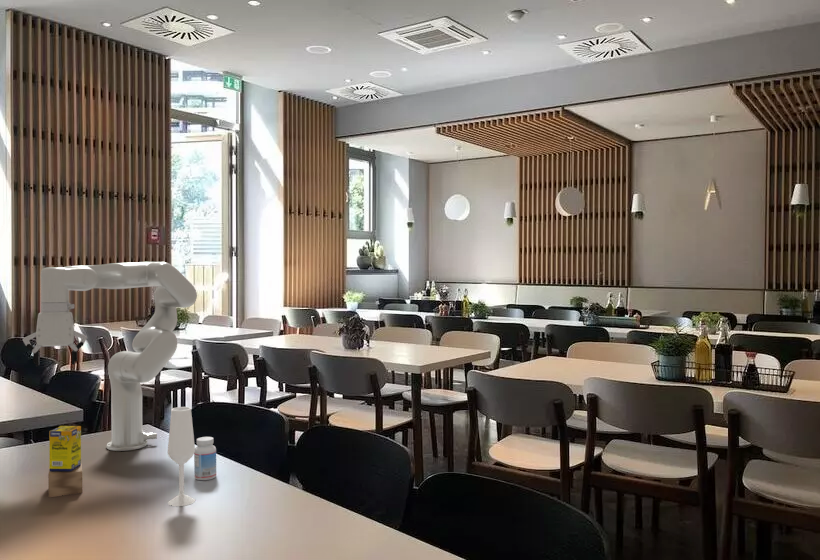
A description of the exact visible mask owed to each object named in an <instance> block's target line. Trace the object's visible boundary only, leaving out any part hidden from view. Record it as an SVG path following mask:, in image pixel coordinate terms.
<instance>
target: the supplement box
mask: <svg viewBox="0 0 820 560" xmlns="http://www.w3.org/2000/svg"><path fill="white" fill-rule="evenodd" d="M48 434H49V436H48V437H49V441H48V442H49V445H48V446H49V449H48V451H49V453H48V454H49V460H48V461H49V466H48V472H49V471H52V472H71V471H72V470H74V469H75V468H77V467H79V466H81V463H82V426H81V425H60V426H58V427H56V428H53V429H50V430H49V433H48Z"/></svg>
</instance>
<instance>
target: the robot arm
mask: <svg viewBox="0 0 820 560" xmlns="http://www.w3.org/2000/svg"><path fill="white" fill-rule="evenodd" d="M40 271H41V272H40V312H39V313H38V314H37V321H36V331H35V332H33V333H31V334H29V335H27V336H25V337H22V341H23V344H24V346H25V347H26V348H27V349H28V350H29V351H31V353H32V354H33V359H32V360H33V362H32V363H33V364H35V367H39V366H40V352H39V350H40V349H41V348H42V347H63V346H65V347H66V346H67V347H68V346H69V347H70V348H71V349H72V351H71V364H72V366H73V365H75V363H76V362H78V350H80V349H81V348H82V347H83V346H84V345H85V343H86V341H87V339H88V336H87V335H85V334H83V333H81V332H78V331H76V330H75V325H74V323H75V322H74V317H73V312H71V310H72V309H75V303H71V302H70V291H78V292H86V291H90V290H92V289H105V290H106V289H107V290H125V289H133V288H134V289H135V288H136V289H137V288H148V287H149V288H150V287H156V288H155V290H154V295H153V301H154V313H153V315H152V316H151V318H150V319H149V320H148V321H147V322H146V323H145V324H144V326H143V327H142V328H141V329H140V330H139V332H137V333H136V335H135V336H134V337H133V340H132V349H133V351H129V350H123V351H119V352H116V353H115V354H113V355H112V356H111V357H110V359H109V361H108V365H107V371H108V373H107V374H108V376H109V382H110V392H111V396H110V397H111V399H110V401H111V404H110V405H111V408H110V409H111V411H110V412H111V413H110V414H111V422H110V423H111V425H110V427H111V440H110V441H109V442H107V444H106V449H108V451H109V450H110V451H114V452H115V451H116V452H121V451H122V452H124V451H125V452H126V451H134V450H135V451H136V450H138V449H142V448H145V447H147V446H148V440H157V439H158V432H154V433H153V432H145V431H144V429H143V389H142V384H141V383H143V384H144V383H149V382H151V381H152V380H153V379H154V378H156V377H157V375H158V374H159V373H160V372H161V371H162V370H163V368H165V366H166V365H167V363H168V362H169V361H170V360H171V359H172V357H173V356H174V355H175V353H176V351H177V348H178V338H177V336H176V334H175V333H174V332H173V331H174V330H175V328H176V326H177V323H178V312H177V308H182V309H183V308H184V309H185V308H190V307H192V306H193V305H194V304H195V303H196V302H197V299H198V293H197V290H196V287H195V286H194V284H192V283H191V282H190V281H189V280H188V279H187V278H186V277H185V275H183V274H182V272H181V271H179V270H178V269H177V268H176V267H175V266H173V265H172V264H171V263H169V262H165V261H139V262H136V261H135V262H116V263H115V262H114V263H105V264H94V265H93V264H92V265H72V266H71V265H67V266H64V267H63V266H62V267H57V266H56V267H53V266H52V267H44V268H42V269H41V270H40ZM75 337H77V338H79V339H81V340H80V342H79V343H77V344H75ZM34 338H35V342H36V346H34V345H33V344H31V342H30V341H31V340H32V339H34Z"/></svg>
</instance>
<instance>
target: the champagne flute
mask: <svg viewBox="0 0 820 560" xmlns="http://www.w3.org/2000/svg"><path fill="white" fill-rule="evenodd" d="M170 412H171V413H170V422H169V434H168V443H167V445H168V446H167V455H168V457H169V458H170V459H171V461H173V462H174V463H175V464H177V465H179V466H178V488H179V489H178V495H176V496H175V497H173V498H172V499H170V500H169V501H167V505H169V506H171V505H172V506H171V507H185V506H190V505H191V504H194V503H195V502H196V499H195V498H193V497H191V496H189V495H187V494H185V464H187V463H188V461H189V460H190V459H192V458H193V457H194V453H195V448H196V446H195V445H196V444H195V435H194V427H193V417H192V415H193V414H192V408H191V407H190V406H177V407H173V408H171V410H170Z"/></svg>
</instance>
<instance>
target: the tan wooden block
mask: <svg viewBox="0 0 820 560" xmlns="http://www.w3.org/2000/svg"><path fill="white" fill-rule="evenodd" d="M47 476H48V498H52V497H53V498H55V497H61V496H62V495H63V496H68V495H69V494H70V495H76V494H77V493H78V494H83V466H82V462H81V466H79V467H77V468H75V469H74V470H72V471H71V472H52V471H49V470H48V475H47ZM70 495H69V496H70Z"/></svg>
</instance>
